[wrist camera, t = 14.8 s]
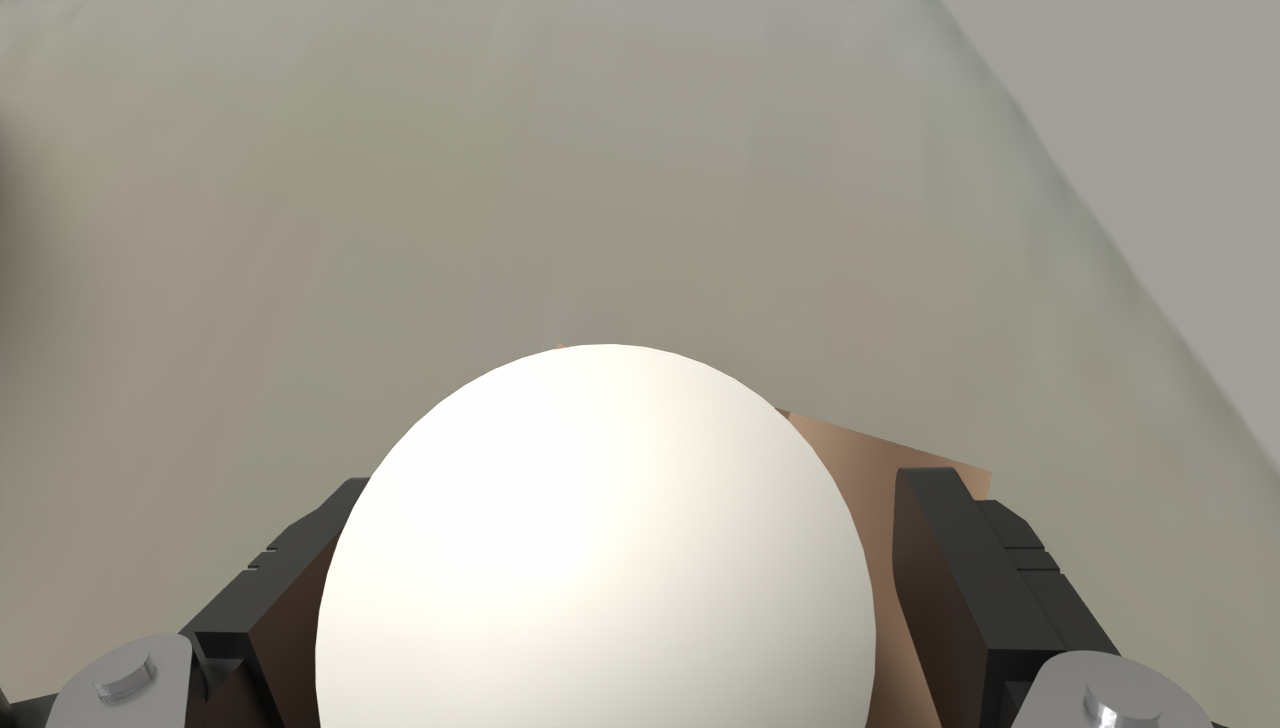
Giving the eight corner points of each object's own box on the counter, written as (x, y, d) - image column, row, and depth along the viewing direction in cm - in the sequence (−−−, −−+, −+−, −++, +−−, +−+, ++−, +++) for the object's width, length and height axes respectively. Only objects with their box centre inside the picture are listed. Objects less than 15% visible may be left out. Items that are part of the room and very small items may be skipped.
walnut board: (407, 766, 18) (356, 782, 16) (577, 375, 22) (557, 343, 19) (855, 1007, 15) (873, 1072, 12) (962, 494, 18) (991, 471, 16)
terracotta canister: (524, 706, 16) (211, 778, 7) (614, 478, 18) (465, 294, 9) (761, 819, 14) (773, 1118, 5) (832, 555, 16) (934, 428, 7)
